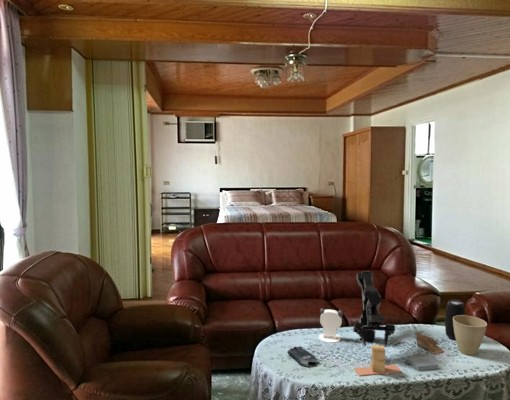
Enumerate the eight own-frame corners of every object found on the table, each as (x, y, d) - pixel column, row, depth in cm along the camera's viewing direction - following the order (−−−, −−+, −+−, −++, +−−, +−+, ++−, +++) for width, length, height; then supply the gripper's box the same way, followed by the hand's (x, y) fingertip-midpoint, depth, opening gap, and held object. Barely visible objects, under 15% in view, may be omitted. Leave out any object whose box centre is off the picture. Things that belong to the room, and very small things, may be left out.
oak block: (371, 366, 188) (371, 345, 187) (382, 367, 187) (383, 345, 186) (372, 372, 183) (373, 350, 182) (384, 372, 182) (385, 350, 181)
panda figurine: (342, 334, 223) (342, 307, 222) (341, 343, 212) (342, 315, 211) (319, 332, 226) (320, 305, 225) (318, 341, 215) (318, 313, 214)
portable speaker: (466, 341, 216) (468, 304, 214) (448, 341, 216) (450, 304, 214) (458, 334, 224) (460, 299, 222) (441, 334, 224) (443, 298, 222)
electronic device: (285, 359, 199) (304, 368, 186) (286, 347, 200) (304, 355, 187) (301, 357, 204) (320, 366, 191) (302, 345, 204) (321, 353, 191)
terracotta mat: (359, 376, 180) (359, 375, 180) (353, 369, 186) (353, 368, 186) (401, 372, 184) (401, 370, 184) (394, 365, 190) (395, 364, 190)
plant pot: (466, 361, 194) (468, 328, 192) (444, 347, 208) (445, 316, 207) (492, 357, 198) (494, 325, 196) (469, 344, 212) (470, 313, 211)
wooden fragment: (447, 355, 200) (447, 353, 200) (423, 355, 201) (423, 352, 201) (429, 334, 225) (429, 332, 225) (408, 333, 226) (408, 331, 226)
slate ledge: (417, 370, 185) (418, 366, 185) (408, 362, 193) (408, 358, 193) (438, 368, 187) (438, 364, 187) (427, 360, 195) (427, 356, 194)
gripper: (354, 305, 197) (356, 338, 187) (395, 307, 195) (399, 340, 185) (352, 315, 205) (354, 347, 196) (391, 317, 203) (395, 349, 193)
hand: (375, 346), depth 192 cm, fingers open, 9 cm apart
